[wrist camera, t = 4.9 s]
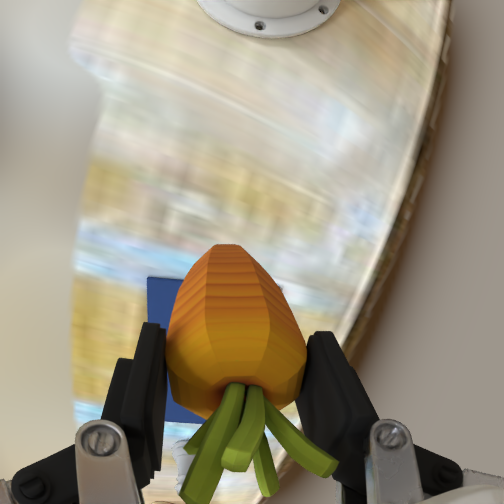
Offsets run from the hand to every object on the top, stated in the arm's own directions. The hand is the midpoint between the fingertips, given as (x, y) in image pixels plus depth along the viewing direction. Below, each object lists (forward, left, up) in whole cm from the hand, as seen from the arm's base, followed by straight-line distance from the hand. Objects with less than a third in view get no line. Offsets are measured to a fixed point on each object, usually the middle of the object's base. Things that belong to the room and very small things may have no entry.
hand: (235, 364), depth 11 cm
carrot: (0, 0, -10) cm, 10 cm away
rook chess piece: (+32, -2, -18) cm, 37 cm away
